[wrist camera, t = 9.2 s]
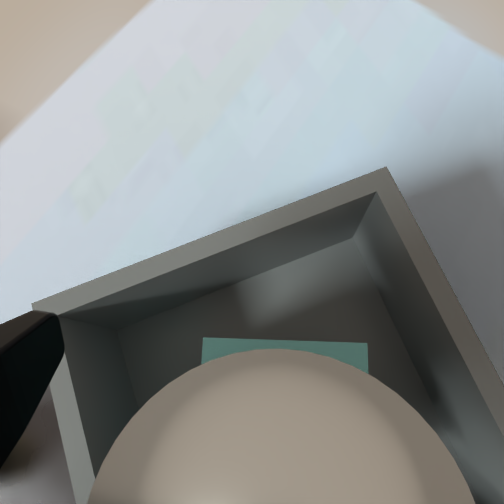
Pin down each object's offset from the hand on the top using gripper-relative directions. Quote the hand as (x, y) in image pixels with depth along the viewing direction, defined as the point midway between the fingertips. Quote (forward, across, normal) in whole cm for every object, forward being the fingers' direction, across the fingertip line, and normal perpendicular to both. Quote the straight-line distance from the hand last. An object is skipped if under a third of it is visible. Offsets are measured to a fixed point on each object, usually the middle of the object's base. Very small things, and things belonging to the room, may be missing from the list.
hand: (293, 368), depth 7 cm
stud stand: (+2, +10, +10) cm, 14 cm away
